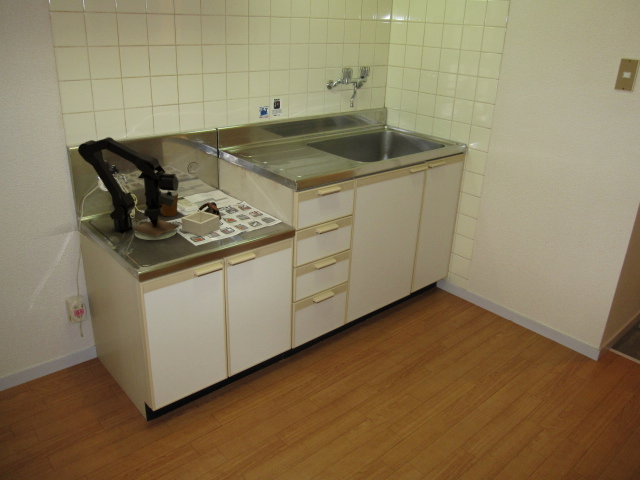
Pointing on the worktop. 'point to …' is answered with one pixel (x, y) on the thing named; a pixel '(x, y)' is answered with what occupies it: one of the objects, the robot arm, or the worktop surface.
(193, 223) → the cream open box
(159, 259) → the worktop surface
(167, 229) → the walnut lid
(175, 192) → the disposable coffee cup
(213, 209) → the brown curved piece
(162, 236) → the sage mat
